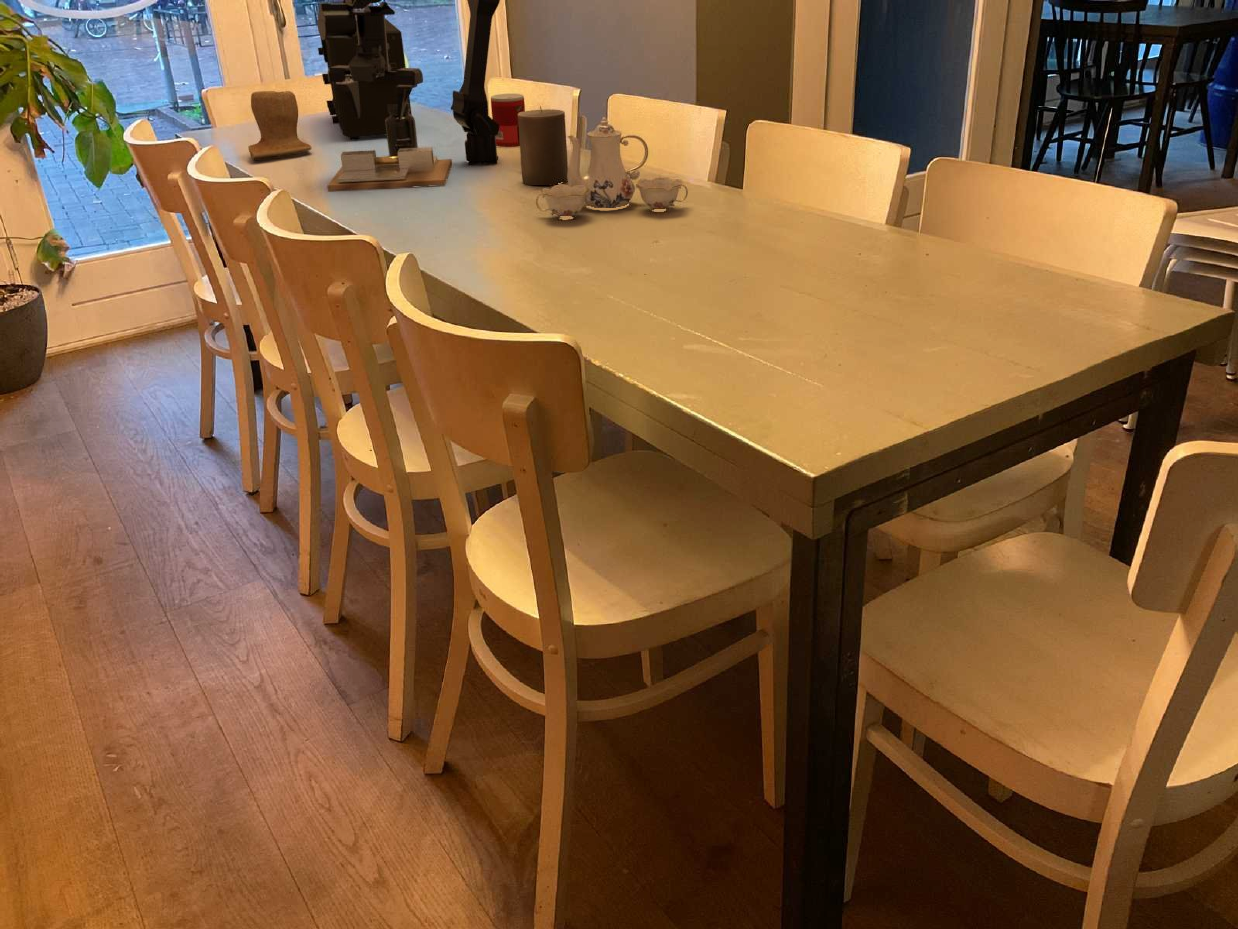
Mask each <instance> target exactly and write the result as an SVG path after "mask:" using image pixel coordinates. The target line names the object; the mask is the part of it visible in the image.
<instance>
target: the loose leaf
mask: <svg viewBox="0 0 1238 929" xmlns="http://www.w3.org/2000/svg"><path fill="white" fill-rule="evenodd" d="M340 161H341V167H342V168H343V172H342V173H341V174H340V176H339V177H338V178H337V182H357V181H378V180H399V179H406V177H407V175H408V173H409V168H403V169H382V170H378V165H386V164H399V160H398V156H377V152H376V150H374V149H373V150H372V149H371V150H353V151H342V153H341V154H340Z"/></svg>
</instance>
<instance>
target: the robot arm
mask: <svg viewBox="0 0 1238 929" xmlns="http://www.w3.org/2000/svg"><path fill="white" fill-rule="evenodd" d="M466 1H467V4H468V9H469V12H470V13H469V14H470V17H469V24H468V34H467V42H466V43H467V44H466V55H465V61H464V62H465V64H464V73H463V83H462V85H461V86H460V89H459V91H457V90H452V102H451V103H452V104H451V105H450V106H451V107H450V111H452V116H453V119H454V120H455V122H456V123H457V124H459V125H460V126H461V128H462V131H463V132H464V133H466V139H465V141H464V150H465V158H466V162H467V165H468V166H473V165H474V166H475V165H476V166H478V165H493V164H495V165H496V164H498V162H499V155H498V151H497V150H498V148H497V147H498V146H497V145H496V135H498V132H499V127H500V126H499V125H498V124H497V123H496V122H495V121H494V120H493V119H492V117H491V116H489V102H488V96H487V94H486V88H485V84H486V74H487V65H488V57H489V48H490V39H491V31H492V30H491V29H492V22H493V17H494V14H495V13H496V10H497V9H498V7H499V5H500V3H501V2H500V1H501V0H466ZM378 3H379V5H370V4H378ZM354 10H362V11H354ZM395 14H396V11H395V10H393V9H392V7H390V6H389V3H387V2H386V1H383V0H342V1H341V3H327V2H319V3H318V12H317V19H316V24H317V30H318V35H319V36H320V40H321V39H322V40H349V39H351V38H352V36H353V35H355V34H356V31H357V32H358V44H359V45H356V47H357V48H356V56H355V57H353V59H352V60H351V62H350V63H349V66H342V65H338V66H334V67H330V68H329V70H328V69H327V74H328V82H336V84H335V86H336V87H340V88H341V89H342V90H343V91H344V93H345V94H346V96H347V98H348V100H349V102H350V104H351V107H352V109H353V111H354V113H355V116H356V118H360V100H359V88H358V80H365V81H367V82H371V81H374V80H389V81H396V82H397V83H398V84H399V86H396V87H395V89H396V92H397V114H398V120H401V119H402V117H403V113H404V110H405V107H406V103H407V100H408V98H409V97H410V95H411V94H412V90H413V89H415V88H417V87H418V85H419V84H422V83H424V77H423V75H424V74H423V72H422V70H421V69H420V68H416V67H415V68H414V67H413V68H412V67H406V68H402V69H398V70H396V71H389V70H391V65H389V63H388V50H387V49H389V44H387V38H386V25H385V19H386V16H392V15H395ZM356 21H357V23H356Z"/></svg>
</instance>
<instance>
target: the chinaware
mask: <svg viewBox="0 0 1238 929" xmlns="http://www.w3.org/2000/svg"><path fill="white" fill-rule="evenodd" d="M599 122H600V124H598V125H597V126H596V127H595V129H594V130H592V131H589V132H587V133H586V134H587V136H588V140H589V143H590V160H589V166H588V170H587V173H586V175H583V176H582V175H581V170H580V169H581V154H582V153H581V152H582V151H581V143H580V140H579V139H578V138H577V137H576V136H574V135H568V136H567V138H568V140H569V141H570V142H571V144H572V151H571V156H570V159H569V163H568V173H567V178H568V181H567V184H566V183H563V184H558V185H552V187H551V188H547V187H544V188H541V191H540V192H541V193H540V194H538V195H537V197H536V199H535V205H536V208H538V210H540V211H542V212H546V211H547V212H548V211H551V212H550V215H551V214H555V215H557V216H559V217H560V216H575V215H577V214H578V213H579V212H580V211H581V210H582V208H583V206H584V204H585V206H586V205H587V206H591V207H594V208H616V207H621V206H625V205H627V204H628V203H629V202H630V201H631V200H632V198H633V196H634V193H635V192H636V188H637V189H638V190H639V194H640V197H641V200H642V201H643V202H644V204H645V205H646V206H648V207H649V208H651V209H665V208H666V209H668V208H669V207H671V206H674V207H675V202H678V203H679V202H684V201H685V200H686V199H687V197H688V193H689V192H688V191H689V190H688V187H687V186H686V185H684V184H683V180H682V179H679V178H678V179H677V178H676V179H673V180H672V179H670V178H669V177H665V176H658V177H654V178H653V179H651V180H650V179H646V178H641V179H639V177H640V174H641V172H640V171H639V169H641V168H642V167H643V166H644V165H645V163H646V162H647V160H648V156H649V148H648V145H647V142H646V141H645V140H644V139H643V138H642V137H640V135H636V134H626V135H623V132H622V131H620V130H615V128H614V126H613V125H612V124H610V123H609V120H608V119H607V117H605V116H604V117H602V118H601V120H600V121H599ZM622 135H623V136H622ZM627 139H636V140H638V141H639V142H640V143H642V145H643V148H644V155H643V159H642V161H641V162H640V163H639V164H638V165H636V166H634V167H632V168H629V169H627V171H626V169H625V166H624V163H623V160H622V156H621V155H622V154H621V145H623V146H624V147H627V146H628V145H629V140H627ZM637 179H639V180H638V181H637V184H634V182H633V180H635V181H636V180H637ZM682 187H683V188H684V189H685V196H684V197H683V198H682V199H680V200H679V199H677V197H678V196H679V195H678V194H679V192H680V189H682ZM541 196H542V198H543V199H545V201H546V204H547V206H548V208H546V209H543V208H541V207H540V205H539V198H540V197H541ZM629 204H630V203H629Z"/></svg>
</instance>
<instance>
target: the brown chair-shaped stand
mask: <svg viewBox="0 0 1238 929" xmlns="http://www.w3.org/2000/svg"><path fill="white" fill-rule="evenodd" d="M296 98H297V97H296V94H294V92H292V91H290V90H285V91H275V90H262V91H258V90H257V91H254V92H252V93H251V95H250V107H251V111H252V114H253V117H254V119H255V122H256V125H257V127H258V130H259V132H260V139H259V141H258V142H256V143H255V144H254V143H253V144H249V145H248V146H247V147H248V152H249V154H250V158H251V160H252V161H260V160H268V159H277V158H283V157H284V158H285V157H288V156H292V155H297V154H302V153H305V152H308V151H310V150H312V149H313V148H312V146H311V145H310V144H309V143H306V142H303V141H302V140H300V138H299V137H298V129H297V128H298V123H299V122H298V121H299V106H298V102H297V99H296Z"/></svg>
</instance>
